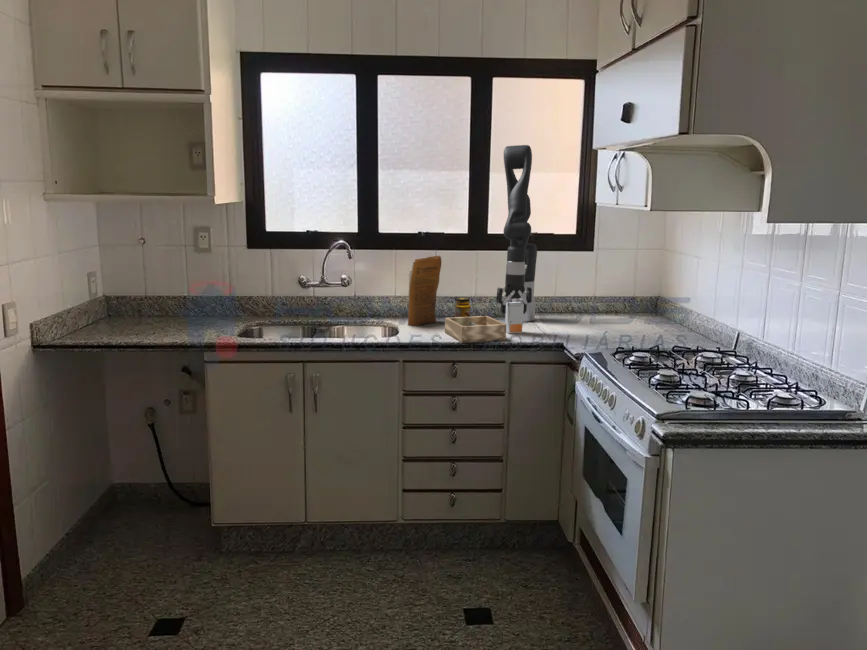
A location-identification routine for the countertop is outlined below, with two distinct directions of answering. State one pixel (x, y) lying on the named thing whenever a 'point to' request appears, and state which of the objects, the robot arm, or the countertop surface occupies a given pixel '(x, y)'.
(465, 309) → the condiment
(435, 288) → the pancake mix bag
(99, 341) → the countertop surface
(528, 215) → the robot arm
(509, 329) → the skincare box
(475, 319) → the box
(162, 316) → the countertop surface
